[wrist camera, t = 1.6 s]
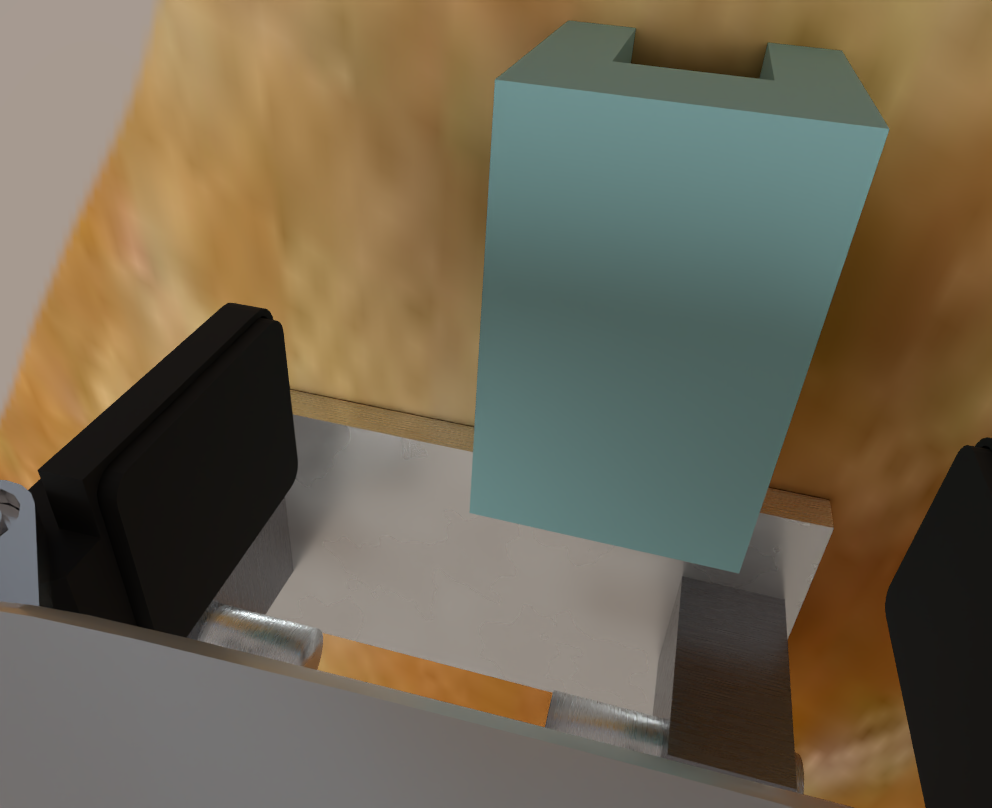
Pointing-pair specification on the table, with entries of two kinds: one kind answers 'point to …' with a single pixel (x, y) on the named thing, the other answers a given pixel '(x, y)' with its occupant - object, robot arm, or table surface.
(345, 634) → the shaft rig
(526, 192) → the teal block
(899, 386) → the table surface
